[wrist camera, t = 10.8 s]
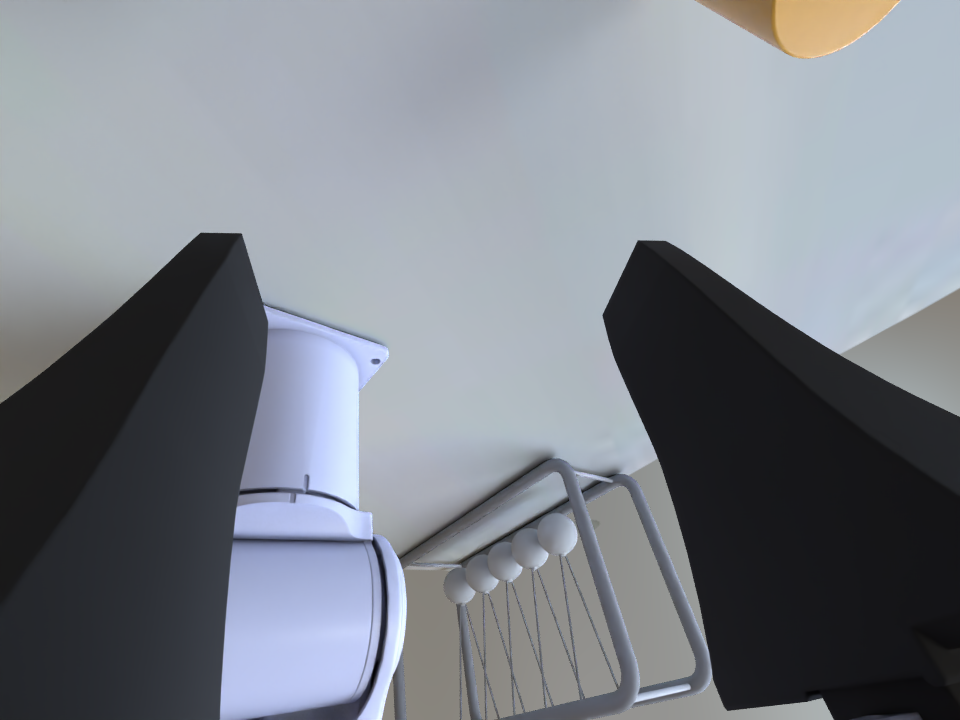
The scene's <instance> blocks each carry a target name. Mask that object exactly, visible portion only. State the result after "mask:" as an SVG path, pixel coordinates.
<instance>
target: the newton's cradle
mask: <svg viewBox="0 0 960 720" xmlns="http://www.w3.org/2000/svg"><path fill="white" fill-rule="evenodd" d="M553 472H559V473H560V474H561V476H562V478H563V481H564V484H565V487H566V491H567V494H568V497H569V500H570V501H568V502H566V503H564V504H563V505H561V506H559V507H557V508H556V509H554V510H552V511H550V512H549V513H547V514H545V515H544V516H542V517H540V518H538V519H537V520H535V521H533V522H531V523H530V524H528V525H526V526H524V527H523V528H521V529H519V530H517V531H516V532H514V533H512V534H511V535H509V536H507V537H505V538H504V539H502V540H500V541H498V542H497V543H495V544H493V545H491V546H490V547H488V548H486V549H484V550H483V551H481V552H479V553H478V554H476V555H474V556H472V557H471V558H469V559H467V560H465V561H464V562H462V563H461V564H436V563H413V562H414V561H416V560H417V559H419V558H420V557H422V556H423V555H425V554H427V553H428V552H430V551H431V550H433V549H434V548H436V547H437V546H439V545H441V544H442V543H444V542H445V541H447V540H448V539H450V538H451V537H453V536H455V535H456V534H458V533H459V532H461V531H462V530H464V529H466V528H467V527H469V526H470V525H472V524H473V523H475V522H476V521H478V520H480V519H481V518H483V517H484V516H486V515H487V514H489V513H490V512H492V511H494V510H495V509H497V508H498V507H500V506H501V505H503V504H504V503H506V502H508V501H509V500H511V499H512V498H514V497H515V496H517V495H519V494H520V493H522V492H523V491H525V490H526V489H528V488H529V487H531V486H533V485H534V484H536V483H537V482H539V481H540V480H542V479H543V478H545V477H547V476H548V475H550V474H551V473H553ZM576 475H577V476H582V477H586V478H591V479H596V480H600V481H603V482H601V483H599V484H597V485H596V486H594V487H592V488H590V489H589V490H587V491H585V492H583V493H582V492H581V489H580V486H579V483H578V480H577V477H576ZM619 486H625V487H626V488H627V489H628V490H629V492H630V494H631V497H632V499H633V502H634V504H635V507H636V509H637V512H638V514H639V517H640V519H641V522H642V524H643V527H644V529H645V532H646V534H647V537H648V540H649V542H650V544H651V547H652V550H653V552H654V555H655V557H656V560H657V562H658V565H659V567H660V570H661V572H662V575H663V577H664V580H665V582H666V585H667V588H668V590H669V592H670V595H671V597H672V600H673V603H674V605H675V608H676V610H677V613H678V615H679V618H680V620H681V623H682V626H683V627H684V631H685V633H686V636H687V638H688V641H689V643H690V645H691V648H692V651H693V653H694V656H695V660H696V668H695V672H694V673H693V675H692V676H689V677H686V678H682V679H678V680H673V681H669V682H664V683H660V684H656V685H652V686H647V687H643V688H640V686H639V685H640V674H639V670H638V665H637V661H636V658H635V655H634V652H633V649H632V646H631V643H630V639H629V636H628V633H627V630H626V627H625V624H624V621H623V618H622V615H621V612H620V609H619V606H618V603H617V599H616V596H615V593H614V590H613V587H612V584H611V581H610V578H609V575H608V572H607V569H606V566H605V563H604V560H603V556H602V553H601V550H600V547H599V544H598V541H597V538H596V535H595V532H594V529H593V526H592V523H591V520H590V517H589V513H588V510H587V508H586V504H587V503H589V502H591V501H593V500H595V499H597V498H598V497H600V496H602V495H604V494H606V493H607V492H609V491H611V490H613V489H615V488H616V487H619ZM571 512H573V513H574V517H575V520H576V523H577V527H578V530H579V533H580V537H581V540H582V543H583V546H584V549H585V553H586V556H587V559H588V563H589V566H590V569H591V573H592V576H593V579H594V583H595V586H596V589H597V592H598V596H599V599H600V602H601V606H602V609H603V612H604V615H605V619H606V622H607V625H608V629H609V632H610V635H611V638H612V642H613V645H614V648H615V651H616V655H617V658H618V661H619V664H620V669H621V683H620V687H618V684H617V682H616V679H615V677H614V674H613V671H612V669H611V666H610V664H609V661H608V659H607V657H606V654H605V651H604V649H603V646H602V644H601V641H600V639H599V636H598V634H597V631H596V629H595V626H594V624H593V621H592V619H591V616H590V614H589V611H588V608H587V606H586V603H585V601H584V598H583V596H582V593H581V591H580V589H579V586H578V583H577V581H576V578H575V576H574V573H573V571H572V568H571V566H570V563H569V561H568V558H567V556H566V554H567V553H569V552H570V551H571V550H572V549H573V548H574V546H575V544H576V542H577V530H576V527H575V525H574V523H573V522H572V520H570V518H568V517H567V516H566V515H568V514H569V513H571ZM549 553H550V554H552V555H556V556H560V563H561V569H562V577H563V584H564V591H565V598H566V605H567V612H568V618H569V625H570V632H571V639H572V646H573V653H574V660H575V667H576V672H575V669H574V666H573V664H572V661H571V658H570V655H569V653H568V650H567V647H566V644H565V642H564V639H563V636H562V633H561V631H560V628H559V625H558V622H557V620H556V617H555V614H554V612H553V608H552V606H551V603H550V600H549V598H548V595H547V592H546V589H545V586H544V584H543V581H542V578H541V575H540V573H539V570H538V567H540V566H542V565H543V564H544V563H545V561H546V560H547V558H548V554H549ZM561 557H565V558H566V560H567V563H568V565H569V568H570V570H571V573H572V575H573V578H574V580H575V583H576V586H577V588H578V591H579V593H580V595H581V598H582V601H583V603H584V606H585V608H586V611H587V613H588V616H589V618H590V621H591V623H592V626H593V628H594V631H595V633H596V636H597V639H598V641H599V644H600V646H601V649H602V651H603V654H604V656H605V659H606V661H607V664H608V666H609V669H610V671H611V674H612V677H613V679H614V682H615V684H616V687H617V689H618V690H616V691H615V692H612V693H607V694H603V695H599V696H594V697H590V698H586V699H585V697H584V694H583V691H582V689H581V686H580V681H579V674H578V667H577V660H576V654H575V647H574V640H573V633H572V626H571V619H570V613H569V606H568V599H567V592H566V585H565V578H564V572H563V565H562V558H561ZM399 561H400V564H401V567H402V569H403V568H405V567H406V566H422V567H450V568H455V569H453V570H451V571H450V572H449V573H448V574H447V576H446V577H445V580H444V592H445V595H446V597H447V598H448V599H449V600H450V601H451V602H453V603H456V605H457V614H458V621H459V629H460V720H462V702H461V701H462V698H461V697H462V690H461V689H462V688H461V646H462V654H463V661H464V671H465V678H466V687H467V695H468V703H469V711H470V716H471V720H482V718H481V715H480V710H479V702H478V695H477V687H476V680H475V673H474V665H473V659H472V650H471V643H470V635H469V628H468V620H467V614H468V617H469V621H470V624H471V628H472V631H473V634H474V638H475V641H476V645H477V648H478V651H479V655H480V659H481V662H482V665H483V669H484V675H485V676H484V677H485V718H486V719H485V720H487V693H486V679H487V683H488V686H489V689H490V693H491V696H492V700H493V703H494V707H495V710H496V713H497V717H498V719H497V720H590V719H594V718H600V717H605V716H609V715H615V714H619V713H622V712H624V711H626V710H628V709H630V708H633V707H638V706H643V705H648V704H653V703H657V702H662V701H667V700H672V699H676V698H682V697H687V696H691V695H696V694H698V693H700V692H702V691H704V690H705V689H706V687H707V686H708V685H709V683H710V680H711V677H712V668H711V662H710V656H709V650H708V648H707V646H706V643H705V641H704V639H703V636H702V634H701V631H700V629H699V626H698V624H697V622H696V619H695V617H694V614H693V612H692V609H691V607H690V605H689V602H688V600H687V598H686V595H685V593H684V590H683V588H682V586H681V583H680V581H679V578H678V576H677V573H676V571H675V569H674V566H673V564H672V562H671V559H670V556H669V554H668V552H667V549H666V547H665V544H664V542H663V540H662V537H661V535H660V532H659V530H658V528H657V525H656V523H655V520H654V518H653V515H652V513H651V511H650V508H649V506H648V504H647V501H646V499H645V496H644V494H643V492H642V489H641V487H640V486H639V484H638V482H637V481H636V480H634V479H633V478H632V477H630V476H628V475H625V474H617V475H614V476H611V477H609V478H606V477H601V476H597V475H592V474H588V473H584V472H579V471H575V470H573V468H572V467H571V466H570V465H569V464H568V463H567V462H566V461H564V460H562V459H550V460H548V461H545V462H544V463H542V464H541V465H539V466H538V467H536V468H535V469H533V470H532V471H530V472H529V473H527V474H526V475H524V476H523V477H521V478H520V479H518V480H517V481H515V482H514V483H512V484H511V485H509V486H508V487H506V488H505V489H503V490H502V491H501V492H499V493H498V494H496V495H495V496H493V497H492V498H490V499H489V500H487V501H486V502H484V503H483V504H481V505H480V506H478V507H477V508H475V509H474V510H472V511H471V512H469V513H468V514H466V515H465V516H463V517H462V518H460V519H459V520H457V521H456V522H454V523H453V524H451V525H450V526H448V527H447V528H445V529H444V530H442V531H441V532H439V533H438V534H436V535H435V536H433V537H432V538H430V539H429V540H427V541H426V542H424V543H423V544H421V545H420V546H418V547H417V548H415V549H414V550H412V551H411V552H409V553H408V554H406V555H405V556H403V557H402V558H400V559H399ZM522 568H526V569H532V581H533V591H534V601H535V611H536V621H537V631H538V642H539V652H540V662H541V666H540V663H539V660H538V657H537V654H536V651H535V648H534V645H533V642H532V639H531V636H530V633H529V629H528V627H527V623H526V620H525V617H524V614H523V611H522V608H521V606H520V602H519V599H518V596H517V593H516V590H515V587H514V584H513V582H512V580H514V579H515V578H517V577H518V576H519V574H520V573H521V571H522ZM536 570H537V572H538V575H539V577H540V580H541V583H542V586H543V588H544V591H545V594H546V597H547V599H548V602H549V605H550V608H551V611H552V613H553V616H554V618H555V621H556V624H557V627H558V630H559V633H560V636H561V638H562V641H563V644H564V647H565V649H566V652H567V655H568V658H569V661H570V663H571V666H572V669H573V671H574V674H575V677H576V680H577V683H578V688H579V695H580V700H577V701H573V702H569V703H565V704H560V705H557V706H554V705H553V702H552V699H551V696H550V693H549V690H548V687H547V684H546V681H545V678H544V674H543V664H542V654H541V644H540V634H539V624H538V615H537V604H536V594H535V584H534V574H533V571H536ZM499 580H500V581H506V592H507V609H508V627H509V645H510V660H509V656H508V653H507V650H506V646H505V643H504V640H503V637H502V633H501V630H500V627H499V623H498V620H497V617H496V613H495V610H494V607H493V603H492V600H491V597H490V594H489V591H491V590H493V589H494V588H495V586H496V585H497V584H498V582H499ZM508 583H512V586H513V589H514V592H515V595H516V598H517V601H518V604H519V607H520V610H521V613H522V616H523V619H524V622H525V625H526V628H527V631H528V635H529V638H530V641H531V643H532V647H533V650H534V653H535V656H536V659H537V662H538V665H539V668H540V671H541V674H542V683H543V693H544V703H545V708H543V709H539V710H535V711H531V712H526V713H525V710H524V706H523V703H522V700H521V696H520V693H519V690H518V686H517V683H516V680H515V676H514V673H513V666H512V650H511V633H510V616H509V600H508ZM476 591H477V592H480V593H483V631H484V663H483V660H482V657H481V653H480V650H479V646H478V643H477V640H476V636H475V633H474V629H473V626H472V622H471V619H470V616H469V612H468V609H467V605H466V603H467V602H469V601H470V600H471V599H472V598H473V596H474V594H475V592H476ZM486 594H488V595H489V599H490V602H491V605H492V609H493V612H494V615H495V618H496V622H497V625H498V629H499V632H500V635H501V638H502V642H503V645H504V649H505V652H506V655H507V659H508V662H509V665H510V669H511V679H512V697H513V712H514V715H513V716H509V717H505V718H501V719H500V718H499V715H498V711H497V708H496V704H495V701H494V698H493V694H492V691H491V687H490V684H489V681H488V677H487V674H486V652H485V609H484V595H486ZM466 610H467V613H466ZM510 662H511V663H510ZM576 674H577V675H576ZM513 679H514V682H515V685H516V689H517V692H518V695H519V699H520V702H521V705H522V709H523V712H524V713H522V714H518V715H515V701H514V684H513ZM544 683H545V684H544ZM393 684H394V708H395V720H406V705H405V684H404V665H403V648H402V651H401V655H400V659H399V662H398V665H397V667H396V670H395V672H394V674H393ZM545 686H546V689H547V692H548V695H549V699H550V702H551V705H552V707H548V708H547V704H546V694H545ZM582 697H583V699H582Z"/></svg>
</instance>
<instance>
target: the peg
mask: <svg viewBox="0 0 960 720" xmlns="http://www.w3.org/2000/svg"><path fill="white" fill-rule="evenodd" d="M695 1H697V2H699V3H700V4H702V5H704V6H705V7H707V8H709V9H711V10H712V11H714V12H716V13H717V14H719V15H721V16H723V17H724V18H726V19H728V20H729V21H731V22H733V23H735V24H736V25H738V26H740V27H742V28H743V29H745V30H747V31H748V32H750V33H752V34H754V35H755V36H757V37H759V38H760V39H762V40H764V41H766V42H767V43H769V44H771V45H772V46H774V47H776V48H778V49H779V50H781V51H783V52H784V53H786V54H788V55H790V56H792V57H797V58H807V59H809V58H816V57H821V56H825V55H828V54H831V53H833V52H836V51H838V50H840V49H842V48H844V47H846V46H848V45H850V44H851V43H853V42H854V41H856V40H857V39H859V38H860V37H862V36H863V35H864V34H866V33H867V32H868V31H870V30H871V29H872V28H873V27H874V26H875V25H877V24H878V23H879V22H880V21H881V20H882V19H883V18H884V17H885V16H886V15H887V14H888V13H889V12H890V11H891V10H892V9H893V8H894V7H895V6H896V5H897V4H898V3H899V1H900V0H695Z"/></svg>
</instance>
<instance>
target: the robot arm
mask: <svg viewBox="0 0 960 720" xmlns="http://www.w3.org/2000/svg"><path fill="white" fill-rule="evenodd" d="M603 319H604V323H605V327H606V331H607V335H608V339H609V342H610V346H611V349H612V352H613V356H614V358H615V361H616V363H617V366H618V368H619V370H620V373H621V375H622V377H623V380H624V382H625V384H626V387H627V389H628V391H629V393H630V395H631V398H632V400H633V402H634V404H635V407H636V409H637V411H638V413H639V416H640V418H641V420H642V422H643V424H644V427H645V429H646V431H647V433H648V436H649V438H650V440H651V442H652V445H653V447H654V449H655V452H656V454H657V457H658V459H659V462H660V465H661V467H662V470H663V473H664V476H665V480H666V483H667V486H668V489H669V492H670V495H671V498H672V501H673V505H674V507H675V511H676V515H677V518H678V522H679V525H680V529H681V532H682V536H683V539H684V543H685V546H686V550H687V553H688V558H689V562H690V566H691V570H692V574H693V579H694V583H695V587H696V591H697V595H698V599H699V604H700V608H701V614H702V619H703V624H704V629H705V635H706V640H707V644H708V650H709V656H710V662H711V668H712V674H713V680H714V683H715V686H716V688H717V690H718V693H719V695H720V698H721V700H722V703H723V705H724V707H725V708H726V710H727V711H730V710H739V709H747V708H756V707H765V706H774V705H782V704H791V703H800V702H808V701H812V700H816V699H820V698H823V699H824V701H825V703H826V705H827V707H828V709H829V711H830V713H831V715H832V717H833V719H834V720H960V417H959V416H957V415H954V414H952V413H950V412H948V411H946V410H944V409H942V408H940V407H938V406H935V405H934V404H931V403H929V402H927V401H925V400H923V399H921V398H919V397H917V396H915V395H913V394H911V393H909V392H907V391H905V390H903V389H901V388H899V387H897V386H895V385H893V384H891V383H889V382H887V381H885V380H883V379H882V378H880V377H878V376H876V375H875V374H873V373H871V372H869V371H867V370H865V369H864V368H862V367H860V366H858V365H856V364H854V363H853V362H851V361H849V360H847V359H845V358H844V357H842V356H840V355H839V354H837V353H835V352H834V351H832V350H830V349H829V348H827V347H825V346H824V345H822V344H820V343H819V342H817V341H816V340H814V339H813V338H811V337H809V336H808V335H806V334H805V333H803V332H802V331H800V330H798V329H797V328H795V327H794V326H792V325H791V324H789V323H788V322H786V321H785V320H783V319H782V318H780V317H779V316H777V315H776V314H774V313H773V312H771V311H770V310H768V309H767V308H765V307H764V306H762V305H761V304H759V303H758V302H756V301H755V300H754V299H752V298H751V297H749V296H748V295H746V294H745V293H744V292H742V291H741V290H739V289H738V288H736V287H735V286H734V285H732V284H731V283H729V282H728V281H726V280H725V279H724V278H722V277H721V276H719V275H718V274H716V273H715V272H714V271H712V270H711V269H709V268H708V267H706V266H705V265H704V264H702V263H701V262H699V261H698V260H696V259H695V258H693V257H692V256H690V255H689V254H687V253H685V252H684V251H682V250H681V249H679V248H677V247H676V246H674V245H672V244H670V243H668V242H667V241H640V240H638V241H637V244H636V246H635V248H634V250H633V252H632V254H631V256H630V258H629V260H628V262H627V265H626V267H625V269H624V271H623V273H622V275H621V277H620V279H619V281H618V284H617V286H616V288H615V290H614V292H613V294H612V296H611V298H610V300H609V303H608V305H607V307H606V309H605V311H604V313H603ZM388 356H389V352H388V349H387V347H385V346H382V345H379V344H376V343H373V342H370V341H368V340H365V339H362V338H359V337H356V336H353V335H350V334H347V333H344V332H341V331H338V330H335V329H332V328H329V327H326V326H323V325H320V324H317V323H315V322H312V321H309V320H306V319H303V318H300V317H297V316H294V315H291V314H288V313H285V312H282V311H279V310H276V309H273V308H270V307H267V306H265V305H263V302H262V299H261V296H260V293H259V289H258V286H257V283H256V279H255V276H254V273H253V269H252V266H251V263H250V259H249V256H248V253H247V250H246V246H245V243H244V240H243V236H242V234H239V233H200V234H199V235H198V236H197V237H195V238H194V239H193V240H192V241H191V242H190V243H189V244H188V245H186V246H185V247H184V248H183V249H182V250H181V251H180V252H179V253H178V254H177V255H176V256H175V257H174V258H173V259H172V260H171V261H170V262H169V263H168V264H166V265H165V266H164V267H163V268H162V269H161V270H160V271H159V272H158V273H157V274H156V275H155V276H154V277H153V278H152V279H151V280H150V281H149V282H147V283H146V284H145V285H144V286H143V287H142V288H141V289H140V290H139V291H138V292H136V293H135V294H134V295H133V296H132V297H131V298H130V299H129V300H128V301H127V302H126V303H124V304H123V305H122V306H121V307H120V308H119V309H118V310H117V311H116V312H115V313H114V314H112V315H111V316H110V317H109V318H108V319H107V320H105V321H104V322H103V323H102V324H101V325H99V326H98V327H97V328H96V329H95V330H93V331H92V332H91V333H90V334H89V335H87V336H86V337H85V338H84V339H83V340H81V341H80V342H79V343H78V344H76V345H75V346H74V347H73V348H72V349H70V350H69V351H68V352H67V353H66V354H64V355H63V356H62V357H61V358H60V359H58V360H57V361H56V362H55V363H53V364H52V365H51V366H50V367H49V368H47V369H46V370H45V371H44V372H42V373H41V374H40V375H38V376H37V377H36V378H34V379H33V380H32V381H30V382H29V383H28V384H26V385H25V386H24V387H22V388H21V389H20V390H18V391H17V392H16V393H14V394H13V395H12V396H10V397H9V398H8V399H6V400H5V401H3V402H2V403H0V720H382V714H383V709H384V705H385V699H386V696H387V692H388V688H389V685H390V681H391V678H392V675H393V674H394V672H395V670H396V667H397V665H398V662H399V659H400V655H401V651H402V647H403V642H404V635H405V627H406V605H407V604H406V588H405V580H404V575H403V570H402V567H401V564H400V561H399V559H398V557H397V555H396V554H395V552H394V550H393V548H392V546H391V544H390V543H389V542H388V540H387V539H386V538H385V537H383V536H382V535H377V534H373V531H372V513H371V512H363V511H359V391H360V390H361V389H362V388H363V386H364V385H365V384H366V383H367V382H368V381H369V379H370V378H371V377H372V376H373V375H374V374H375V372H376V371H377V370H378V369H379V368H380V367H381V365H382V364H383V363H384V362H385V361H386V360H387V358H388ZM374 358H376V359H374Z"/></svg>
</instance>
